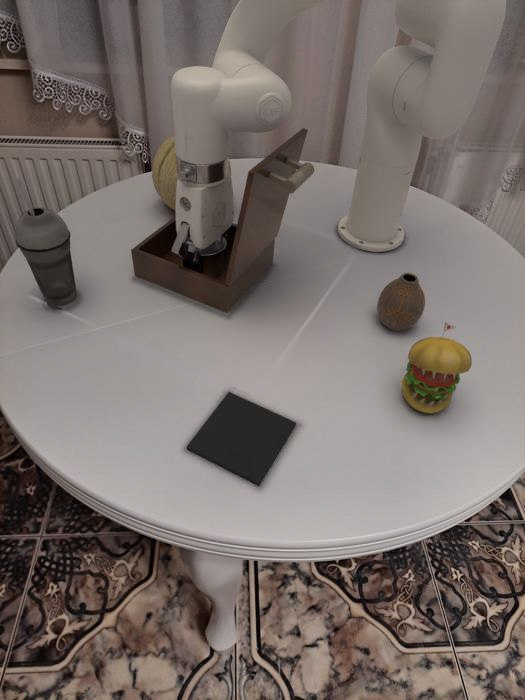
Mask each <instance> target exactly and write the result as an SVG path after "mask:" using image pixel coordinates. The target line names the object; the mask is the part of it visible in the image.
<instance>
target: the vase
mask: <svg viewBox="0 0 525 700" xmlns="http://www.w3.org/2000/svg"><path fill="white" fill-rule="evenodd" d="M419 282H420V281H419V278H418V276H417V275H416V274H414V273H411V272H404V273H402V274H401V275H400V276H399V277H398V278H396V279H394V280H391V281H390V282H389V283H387V284H386V285H385V286H384V288H383V289H382V291H381V293H379V296H378V299H377V305H376V311H377V315H378V318H379V320H380V322H381V323H382V324H383V325H384V326H385V327H387V328H388V329H390V330H393V331H405V330H408V329H410V328H412V327H414V326H415V325H416V324H417V323H418V322H419V320H420V319H421V318H422V315H423V313H424V311H425V308H426V296H425V292H424V290H423V287H422V286H421V285H420V283H419Z"/></svg>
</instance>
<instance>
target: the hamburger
mask: <svg viewBox="0 0 525 700" xmlns="http://www.w3.org/2000/svg"><path fill="white" fill-rule="evenodd" d="M456 328H457V327H456V326H454V325H452V324H450V323H448V322H447V321H445V322H444V327H443V331H442V335H441V336H428V337H424V338H421V339H420V340H417V341H416V342H414V343H413V344H412V346H411V347H410V349H409V352H408V355H407V360H408V362H407V365H406V368H405V371H406V373H405V374H404V376H403V378H402V381H401V391H402V395H403V398H404V400H405V402H407V404H408V405H409V406H410V407H411V408H412V409H414V410H416V411H418V412H421V413H425V414H436V413H438V412H441V411H443V410H444V409H446V408H448V407H449V405H450V403H451V402H452V398H453V396H454V395H453V394H454V392H455V391H456V389H457V386H456V385H458V384H460V382H461V378H460V377H461V376H460V375H461V374H465V373H468V372H469V371H470V369H471V367H472V365H473V363H472V361H473V359H472V355H471V353H470V350H469V349H467V347H466V346H465V344H462V343H460V342H459V341H457V340H454V339H453V338H449V337H445V336H444V334H445V332H447V331H450V330H453V329H456Z"/></svg>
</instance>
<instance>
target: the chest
mask: <svg viewBox="0 0 525 700" xmlns="http://www.w3.org/2000/svg"><path fill="white" fill-rule="evenodd" d="M237 224H238V223H234V222H233V223H232V225H231V227H230V228H229V229H228V235H227V236H226V237H225V238H226V242H227V248H226V257H225V258H224V271H223V273H222V274H221V275H220V276H219V277H217V278H211V277H209V276H206V275H204V274H201V273H198V272H196V271H193V270H191V269H188V268H185V267H183V259H181V258H180V257H178V256H177V255H176V254H174V253H173V252H172V247H173V245H174V242H175V240H176V238H177V231H176V215H175V216H174V217H172V218H171V219H169V220H168V221H167V222H165V223H164V224H163V225H162V226H160V227H159V228H158V229H156V230H155V231H154V232H153V233H151V234H150V235H148V236H147V237H146V238H144V239H143V240H142V241H141V242H139V243H138V244H136V245H135V246H134V247H133V248H131V249H130V253H131V260H132V267H133V273H134V276H135V277H136V278H139V279H142V280H144V281H146V282H149V283H151V284H154V285H157V286H159V287H161V288H164V289H166V290H168V291H171V292H174V293H176V294H179V295H181V296H184V297H186V298H188V299H191V300H194V301H196V302H198V303H201V304H203V305H206V306H208V307H211V308H214V309H216V310H219V311H221V312H223V313H225V314H227V313H228V312H229V311H230V310H231V309H232V308H233V307H234V306H235V305H236V304H237V303H238V302H239V300H240V299H242V297H243V296H244V295H245V294H246V293H247V291H249V289H250V288H251V287H252V286H253V285H254V284H255V283H256V282H257V281H258V280H259V278H261V276H262V275H263V274H264V273H265V272H266V271H267V270H268V269H269V267H271V265H272V264H273V263H274V255H275V244H276V243H275V242H276V238H275V239H274V240H273V241H272V242H271V243H270V244H269V245H268V246H267V247H266V248H265V249H264V250H263V251H262V252H261V253H260V254H259V256H258V257H257V258H256V259H255V260H254V261H253V262H252V263H251V264H250V265H249V266H248V267H247V268H246V269H245V270H244V271H243V272H242V273H241V274H240V275H239V276H238V277H237V278H236V279H235V280H234V281H233V282H232V284H231V285H230V286H229V285H227V284H225V281H226V276H227V271H228V267H229V262H230V257H231V252H232V248H233V243H234V238H235V233H236V229H237Z"/></svg>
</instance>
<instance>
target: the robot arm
mask: <svg viewBox="0 0 525 700" xmlns="http://www.w3.org/2000/svg"><path fill="white" fill-rule="evenodd" d="M328 1H329V0H239V1H238V3H237V4H236V6H235V7H234V9H233V10H232V12H231V15H230V16H229V18H228V20H227V23H226V25H225V28H224V31H223V33H222V36H221V38H220V41H219V44H218V46H217V49H216V53H215V55H214V59H213V62H212V66H211V67H210V66H201V65H195V66H188V67H183V68H180V69H178V70H177V71H175V73H174V74H173V76H172V77H171V82H170V94H171V109H172V111H171V112H172V125H173V126H172V127H173V135H174V141H175V155H176V169H177V178H178V181H177V188H176V211H175V216H176V231H177V238H176V240H175V242H174V245H173V247H172V252H173V253H174V254H176V255H177V256H178V257H180V258H181V259H183V267H185V268H188V269H191V270H193V271H196V272H198V273H201V274H202V267H201V261H200V260H199V256H200V252H201V249H205V248H207V247H208V246H210V245H211V244H212V243H213V242H214V241H215V240H217V239H218V238H219V237H220V236H221V235H222V236H223V237H224V238H225V237H226V236H227V235H228V229H229V228H230V227H231V225H232V223H234V217H235V208H234V207H235V206H234V188H233V180H232V172H231V173H230V169H229V162H230V132H238V133H251V134H252V133H253V134H255V133H256V134H257V133H258V134H262V133H268V132H271V131H274V130H277V129H279V127H281V126H282V125H283V124H284V123H286V121H287V120H288V118H289V116H290V114H291V111H292V107H293V99H292V98H293V97H292V93H291V91H290V88H289V87H288V85H287V84H286V83H285V81H284V80H283V79H282V78H281V77H280V76H279V75H278V74H276V73H275V72H274V71H272V70H271V69H270V68H268V67H267V66H266V65H264V64H265V62H266V60H267V56H268V54H269V52H270V50H271V48H272V45H273V43H274V42H275V40H276V38H277V37H278V35H279V34H280V33H281V31H282V30H283V29H284V28H285V27H286V25H287V24H289V23H290V22H291V21H292V20H293V19H295V18H296V17H298V16H300V15H301V14H304V13H307V12H308V11H311V10H313V9H315V8H317V7H319V6H321V5H323V4H325V3H327V2H328ZM506 12H507V0H396V1H395V9H394V17H395V23H396V25H397V27H398V28H399V29H400V30H401V31H402V32H403V33H404V34H405V35H407V36H409V37H410V38H412V39H414V40H417V41H418V42H421V43H423V44H424V45H427V46H429V47H431V48H433V54H431V53H430V52H428V51H425V50H423V49H422V48H421V49H420V48H418V47H415V46H412V45H396V46H393V47H391V48H389V49H386V51H384V52H382V54H381V55H380V56H379V57H378V58H377V60H376V61H375V63H374V64H373V66H372V68H371V71H370V73H369V77H368V82H367V91H366V93H367V94H366V95H367V96H366V97H367V98H366V99H367V100H366V122H365V130H364V135H363V139H362V144H361V145H362V146H361V150H360V155H359V160H358V165H357V171H356V175H355V180H354V185H353V191H352V195H351V200H350V206H349V211H348V213H347V214H346V215H344V216H342V217H341V219H340V220H339V221H338V224H337V233H338V235H339V237H340V238H341V239H342V241H344V242H345V243H347V244H348V245H349V246H351V247H353V248H355V249H358V250H362V251H365V252H374V253H381V252H389V251H391V250H395V249H397V248H399V247H400V246H401V245H402V243H403V241H404V238H405V235H406V234H405V229H404V228H403V226H402V225H401V223H400V222H401V218H402V215H403V212H404V207H405V205H406V201H407V197H408V193H409V190H410V187H411V183H412V179H413V175H414V172H415V169H416V165H417V162H418V159H419V155H420V151H421V147H422V137H425V138H427V139H430V140H435V141H439V140H444V139H447V138H449V137H451V136H453V135H454V134H456V133H457V132H458V131H459V130H460V129H461V128H462V127H463V125H464V124H465V123H466V122H467V120H468V118H469V116H470V115H471V113H472V111H473V109H474V107H475V104H476V102H477V99H478V96H479V93H480V92H481V89H482V85H483V83H484V80H485V78H486V76H487V75H486V74H487V71H488V69H489V66H490V63H491V61H492V58H493V55H494V53H495V50H496V47H497V44H498V42H499V38H500V37H501V32H502V30H503V27H504V23H505V18H506ZM190 236H191V239H192V240H190ZM225 239H226V238H225ZM189 245H191V246H194V247H195V248H194V252H193V254H191V253H190V252H188V248H189ZM225 257H226V250H225V252H224V258H225Z"/></svg>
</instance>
